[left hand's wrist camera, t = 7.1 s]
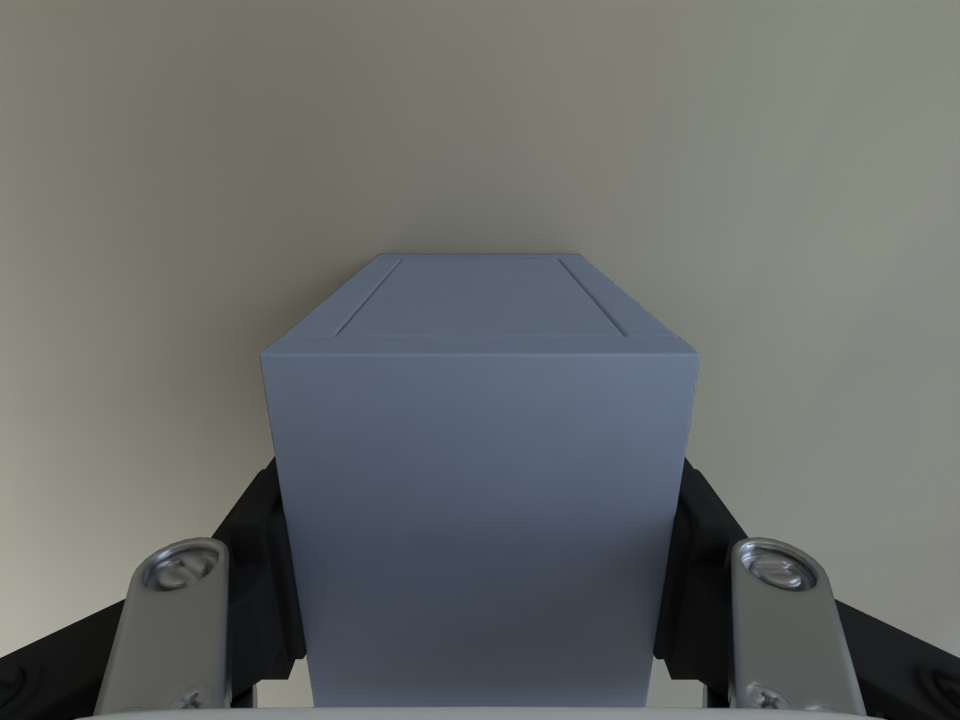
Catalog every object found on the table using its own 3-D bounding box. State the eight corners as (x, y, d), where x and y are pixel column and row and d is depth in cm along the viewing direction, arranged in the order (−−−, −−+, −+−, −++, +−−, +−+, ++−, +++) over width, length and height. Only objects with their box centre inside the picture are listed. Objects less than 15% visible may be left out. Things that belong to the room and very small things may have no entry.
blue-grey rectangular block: (550, 708, 22) (594, 1037, 14) (409, 708, 22) (366, 1037, 14) (581, 253, 16) (702, 353, 7) (378, 253, 16) (257, 353, 7)
